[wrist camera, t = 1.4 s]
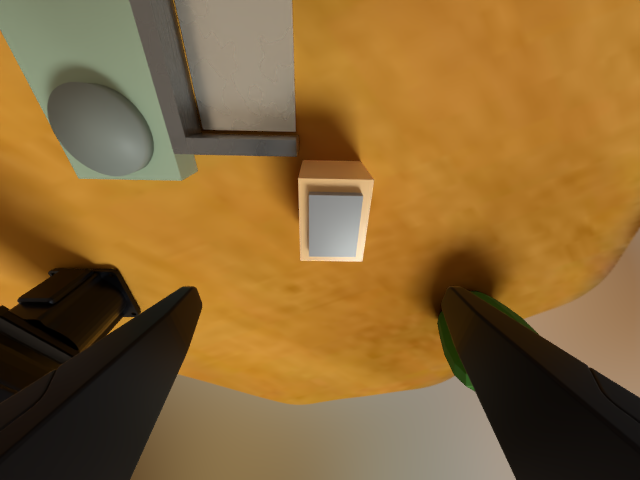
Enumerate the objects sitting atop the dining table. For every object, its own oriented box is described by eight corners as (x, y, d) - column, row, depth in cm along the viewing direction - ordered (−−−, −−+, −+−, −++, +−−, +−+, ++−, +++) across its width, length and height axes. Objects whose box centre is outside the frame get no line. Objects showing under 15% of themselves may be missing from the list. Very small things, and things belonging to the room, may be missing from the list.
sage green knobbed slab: (197, 171, 18) (174, 184, 15) (107, 169, 18) (64, 183, 15) (122, -130, 11) (47, -219, 8) (-32, -138, 11) (-168, -231, 8)
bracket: (299, 149, 17) (296, 156, 15) (191, 147, 17) (174, 154, 15) (294, -66, 12) (289, -103, 10) (136, -72, 12) (96, -111, 10)
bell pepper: (478, 334, 29) (545, 432, 20) (416, 327, 28) (459, 426, 20) (518, 284, 25) (625, 382, 16) (446, 275, 24) (519, 372, 15)
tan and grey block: (353, 228, 21) (363, 266, 16) (303, 227, 21) (299, 265, 16) (360, 160, 18) (376, 182, 13) (302, 159, 18) (297, 181, 13)
